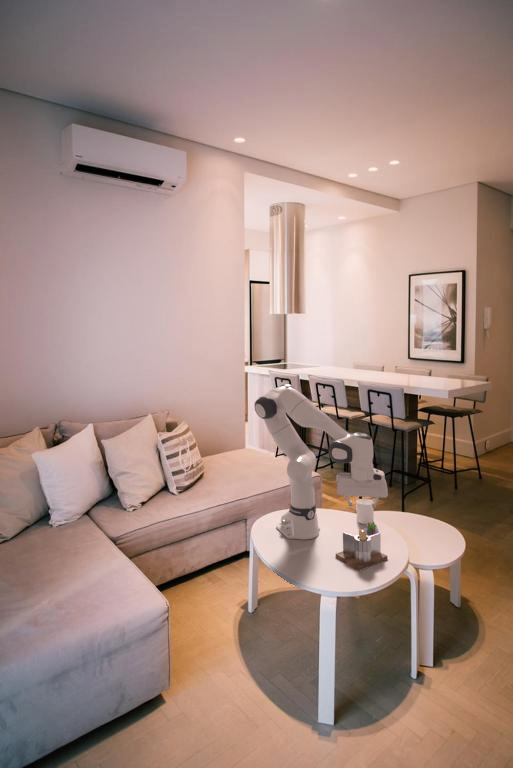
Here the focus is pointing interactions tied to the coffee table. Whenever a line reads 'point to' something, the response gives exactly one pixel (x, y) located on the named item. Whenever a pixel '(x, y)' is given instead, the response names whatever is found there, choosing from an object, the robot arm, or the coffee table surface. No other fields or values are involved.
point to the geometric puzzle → (371, 529)
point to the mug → (365, 511)
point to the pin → (362, 534)
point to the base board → (358, 565)
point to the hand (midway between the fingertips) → (362, 506)
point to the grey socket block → (361, 546)
